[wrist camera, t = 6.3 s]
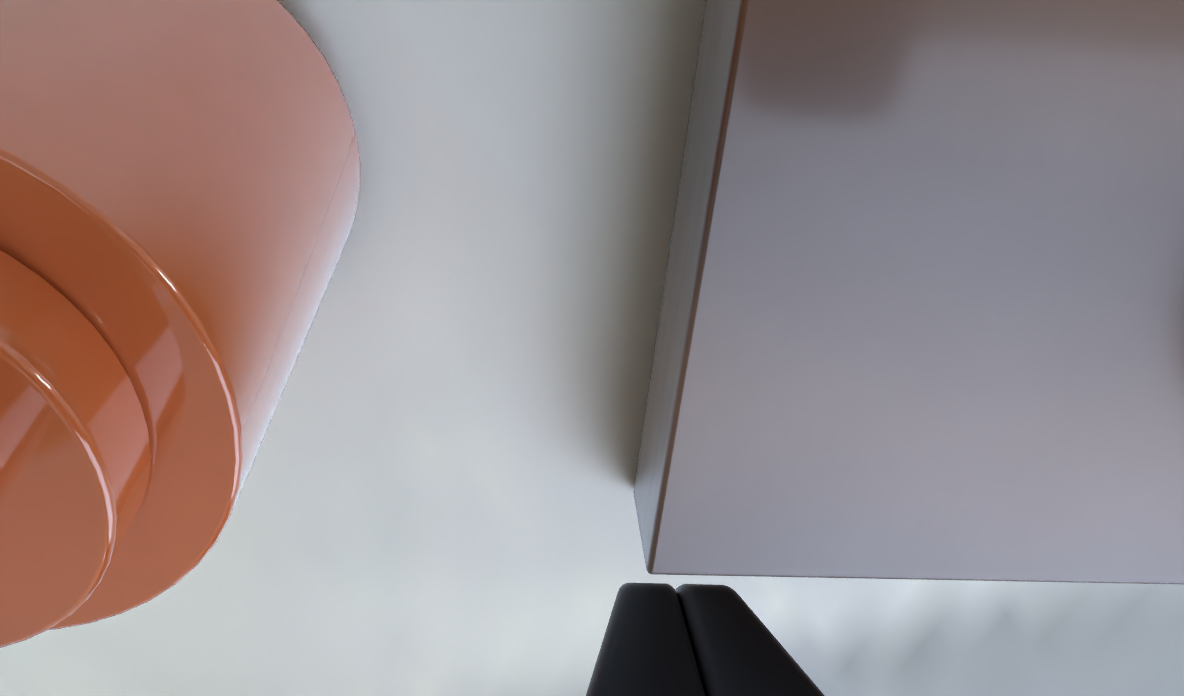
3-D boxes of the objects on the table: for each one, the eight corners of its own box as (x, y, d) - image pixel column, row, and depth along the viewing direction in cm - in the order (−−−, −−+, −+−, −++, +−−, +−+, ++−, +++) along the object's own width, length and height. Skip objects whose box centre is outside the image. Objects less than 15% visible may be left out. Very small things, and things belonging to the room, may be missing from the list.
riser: (1160, 506, 20) (1224, 587, 18) (632, 492, 19) (646, 576, 17) (1504, -210, 14) (1651, -193, 12) (748, -295, 13) (789, -289, 11)
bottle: (329, 267, 18) (-248, 350, 15) (303, -107, 15) (-441, -97, 12) (614, 844, 10) (-538, 1290, 7) (694, 288, 7) (-1435, 663, 4)
